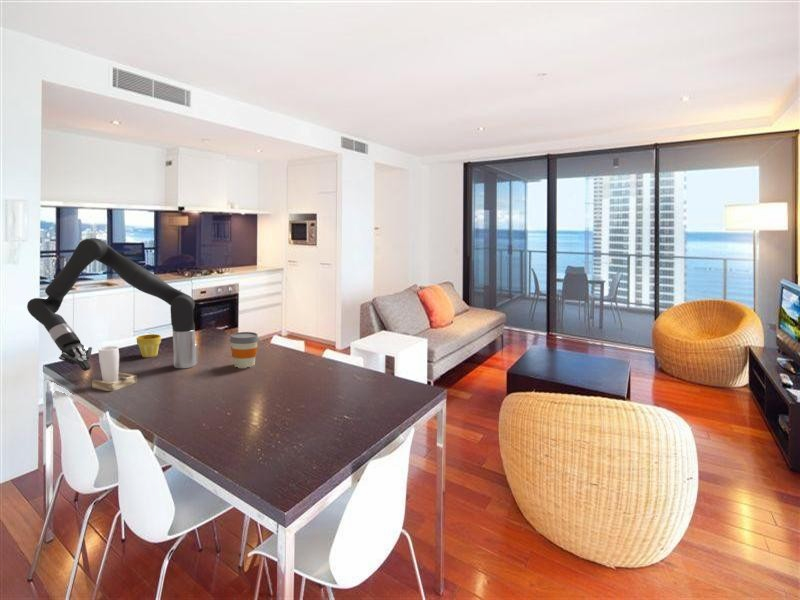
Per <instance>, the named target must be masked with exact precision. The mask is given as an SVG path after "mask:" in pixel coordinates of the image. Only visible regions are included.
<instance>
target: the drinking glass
mask: <svg viewBox="0 0 800 600" xmlns="http://www.w3.org/2000/svg"><path fill="white" fill-rule="evenodd" d="M119 350H120V349H119V346H116V345H115V346H114V345H113V346H112V345H110V346H103V347H100V348H98V362H99V368H100V372H101V377H102V380H101V381H105V382H110V383H112V382H115V381H118V380H119V379H118V375H119V372H120V371H119V369H120V351H119Z"/></svg>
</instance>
